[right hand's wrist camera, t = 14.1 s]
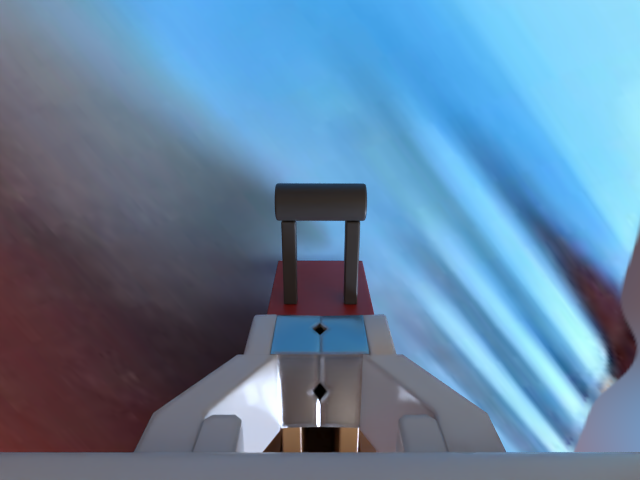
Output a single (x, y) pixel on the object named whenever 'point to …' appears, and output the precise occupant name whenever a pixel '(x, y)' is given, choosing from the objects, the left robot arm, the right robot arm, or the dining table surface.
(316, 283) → the drawer
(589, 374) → the dining table surface
